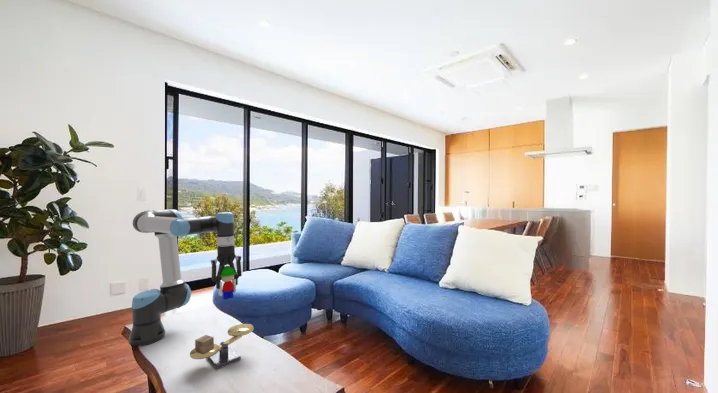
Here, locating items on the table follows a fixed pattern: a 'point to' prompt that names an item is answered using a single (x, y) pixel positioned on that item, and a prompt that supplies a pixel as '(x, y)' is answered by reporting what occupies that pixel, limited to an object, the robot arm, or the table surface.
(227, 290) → the toy
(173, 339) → the table surface
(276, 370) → the table surface
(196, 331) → the table surface
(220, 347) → the balance
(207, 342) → the walnut block
